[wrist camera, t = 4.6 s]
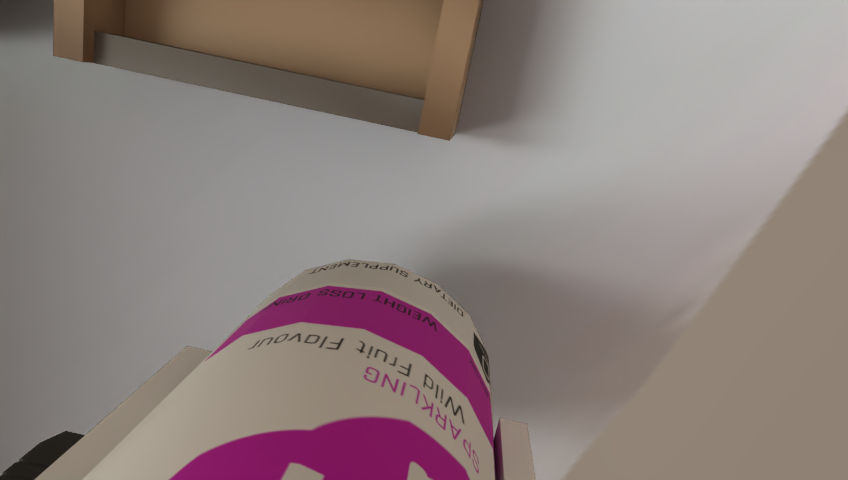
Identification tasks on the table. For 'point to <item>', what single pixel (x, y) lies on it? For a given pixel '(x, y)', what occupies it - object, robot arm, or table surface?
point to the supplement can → (328, 390)
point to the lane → (292, 51)
